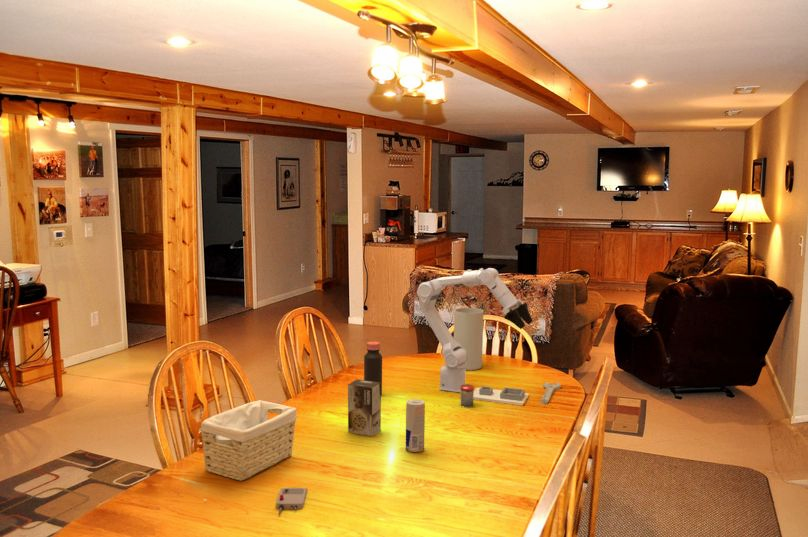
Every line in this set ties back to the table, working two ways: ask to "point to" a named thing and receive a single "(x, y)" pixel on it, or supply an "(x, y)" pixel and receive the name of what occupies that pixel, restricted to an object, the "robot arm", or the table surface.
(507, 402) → the socket board
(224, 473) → the storage basket
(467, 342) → the cylinder vase
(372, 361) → the bottle
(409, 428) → the beverage can
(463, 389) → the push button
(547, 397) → the adjustable wrench
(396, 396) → the table surface
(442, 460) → the table surface
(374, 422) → the coffee box
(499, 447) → the table surface
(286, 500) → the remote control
